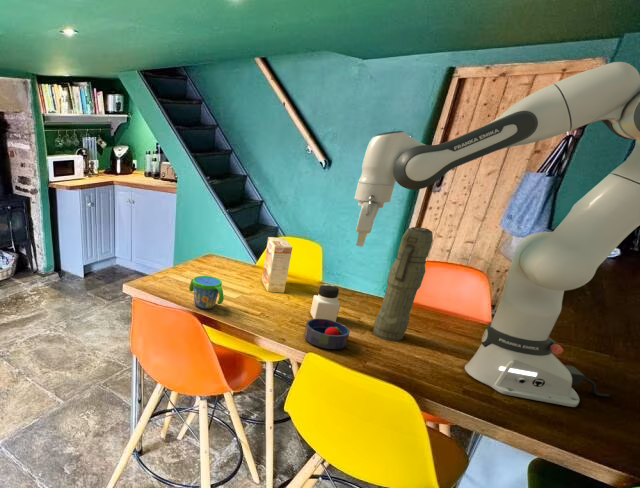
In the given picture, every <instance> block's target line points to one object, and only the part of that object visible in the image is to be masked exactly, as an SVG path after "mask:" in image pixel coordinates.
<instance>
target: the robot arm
mask: <svg viewBox="0 0 640 488" xmlns="http://www.w3.org/2000/svg"><path fill="white" fill-rule="evenodd" d="M600 121H601V122H602V123H603V124H604V125H605V126H606V127H607V128H608V129H609V130H610V132H611V133H613V134H614V135H615V136H617V137H619V138H622V139H625V140H632V141H634V140H635V145H634V148H633V150H632V151H631V153H630V154H629V155H628V156H627V157H626V160H624V161H623V162H622V163H621V164H619V165H618V166H617V167H615V168H614V169H613V170H612V171H611V172H610V173H608V175H607V176H605V177H604V178H603V179H602V180H600V181H599V183H597V184H596V185H595V186H594V187H592V188H591V189H590V190H589V191H588V192H586V194H585V195H583V196H582V197H581V198H580V199H579V200H577V202H575V203H574V204H573V206H572V207H571V209H570V211H569V212H568V213H567V215H566V216H565V217H564V218H563V219H562V220H561V222H560V223H559V224H558V226H556V228H555V229H554V230H553V231H538V232H534V233H531V234H528V235H527V236H525V237H522V239H521V240H519V242H518V243H517V245H516V246H515V249H514V252H513V257H512V259H511V263H510V266H509V268H508V272H507V276H506V280H505V284H504V287H503V292H502V295H501V299H500V301H499V304H498V306H497V308H496V311H495V313H494V316H493V318H492V320H491V322H490V323H488V324H487V326H486V328H485V329H484V331H483V334H482V337H481V340H480V341H481V344H480V346H479V347H478V349H477V350H476V352H475V354H474V355H473V356H472V357H471V359H470V360H469V361H468V362H467V363H465V365H464V371H465V372H466V373H467V374H468V375H469V376H471V377H472V378H473V379H475V380H477V381H478V382H479V383H482V384H485V385H487V386H489V387H490V388H492V389H493V390H495V391H496V392H498V393H500V394H502V395H504V396H505V395H506V396H511V397H517V398H521V399H527V400H533V401H539V402H543V403H547V404H548V403H549V404H555V405H559V406H560V405H561V406H565V407H571V408H576V407H578V405H579V403H580V396H579V394H578V393H577V392H576V391H575V389H574V388H573V387H572V386H578V387H579V386H580V385H581V383H582V381H585V382H587V383H589V384H590V385H591V392H592V394H593V395H595V396H598V397H605V398H609V397H610V394H609V393H601V392H598V391H597V384H596V383H595V382H594V381H593V380H592V379H590V378H588V377H586V376H585V375H584V374H583V373H582V372H581V371H580V370H579V369H578V368H576V367H575V366H573V365H569V364H568V365H567V364H564V363H562V361H561V360H559V358H558V357H557V356H556V355H560V354H563V352H564V349H563V347H562V346H561V345H560V344H558V343H557V342H556V341H555V340H554V339H553V338H551V337H550V336H551V333H552V330H553V329H554V327H555V325H556V323H557V320H558V319H559V316H560V314H561V312H562V308H563V299H564V295H565V291H572V290H576V289H579V288H581V287H583V286H585V285H586V284H588V283H589V282H590V281H591V280H592V279H593V277H594V276H595V275H596V273H597V270H598V268H599V267H600V266H601V264H602V263H604V261H606V260H607V258H608V257H610V255H611V254H612V253H613V252H614V251H615V249H616V248H618V246H620V244H621V243H622V242H623V241H624V240H625V239H626V238H627V237H628V236H629V235H630V234H631V233H632V232H633V231H634V230H636V229H637V228H638V227H639V226H640V72H639V71H638V69H637V68H636V67H634V65H631V63H628V62H624V61H614V62H609V63H606V64H603V65H599V66H596V67H592V68H589V69H587V70H584V71H581V72H578V73H575V74H572V75H570V76H568V77H565V78H562V79H560V80H558V81H556V82H553V83H551V84H548V85H546V86H544V87H542V88H540V89H538V90H536V91H534V92H532V93H530V94H529V95H527V96H525V97H523V98H521V99H520V100H518V101H517V102H515V103H514V104H512V105H511V106H510V107H508V108H507V109H506V110H505V111H504V112H503V113H502V114H500V115H499V116H497V117H496V118H495V119H494V120H492V121H490V122H488V123H486V124H484V125H483V126H480V127H477V128H475V129H474V130H471V131H469V132H466V133H464V134H462V135H459V136H456V137H455V138H452V139H450V140H448V141H445V142H441V143H439V144H425V143H423V142H421V141H419V140H416V139H415V138H413V137H411V136H410V135H409V134H407V133H406V132H405V130H404V131H403V130H395V131H387V132H382V133H381V132H380V133H377V134H376V135H374V136H373V137H372V138H371V139H370V140H369V142H368V145H367V147H366V150H365V153H364V156H363V160H362V164H361V175H360V177H359V179H358V181H357V186H356V188H355V193H354V197H353V199H354V200H355V201H357V206H358V207H360V211H359V214H358V219H357V222H356V227H355V232H357V239H356V244H355V245H356V246H357V247H360V248H361V247H364V244H365V241H366V238H367V235H368V234H370V233H371V232H372V230H373V229H372V228H373V225H374V222H375V219H376V217H377V214H378V212H379V210H380V209H383V208H384V205H385V203H390V202H391V199H392V195H393V192H394V188H395V184H396V183H397V184H398V185H399V186H400V187H402V188H404V189H407V190H411V191H412V190H414V191H417V190H422V189H425V188H428V187H430V186H432V185H433V184H436V182H437V181H439V180H440V179H441V178H442V177H443V176H445V175H446V174H447V173H448V172H450V171H451V170H453V169H455V168H458V167H459V166H460V167H461V166H462V165H465V164H467V163H469V162H472V161H474V160H478V159H479V158H482V157H485V156H487V155H489V154H493V153H494V152H495V153H496V152H497V151H500V150H503V149H508V148H512V147H519V146H523V145H529V144H532V143H536V142H537V143H538V142H540V141H544V140H547V139H551V138H554V137H557V136H560V135H563V134H566V133H568V132H571V131H574V130H576V129H578V128H581V127H583V126H586V125H590V124H592V123H596V122H600Z"/></svg>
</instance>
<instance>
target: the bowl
mask: <svg viewBox="0 0 640 488" xmlns="http://www.w3.org/2000/svg"><path fill="white" fill-rule="evenodd" d="M329 327H338V328H339V330H340V331H341V334H340V335H338V336H336V335H328V334H325V330H326V329H327V328H329ZM350 332H351V331H350V329H349V327H348V326H346V325H344V324H343V323H341V322H338V321H336V322H335V321H332V320H327V319H313V318H311V319H308V320H307V321H306V323H305V327H304V332H303V338H304V340H305V341H307V342H308V343H309V344H312V345H313V346H316V347H318V348H322V349H326V350H341V349H344V348H345V347H347V343H348V340H349V336H350Z"/></svg>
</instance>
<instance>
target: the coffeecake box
mask: <svg viewBox="0 0 640 488" xmlns="http://www.w3.org/2000/svg"><path fill="white" fill-rule="evenodd" d="M292 252H293V246H292V245H291V244H290V243H289V242H288V241H287V239H286V238H285V237H276V236H275V237H274V236H268V237H267V242H266V248H265V256H264V262H263V267H262V275H261V282H262V284H263V286H264V288H265V290H266V291H267V292H269V293H285V291H286V285H287V280H288V279H287V278H288V274H289V269H290V262H291V258H292V257H291V256H292Z"/></svg>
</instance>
